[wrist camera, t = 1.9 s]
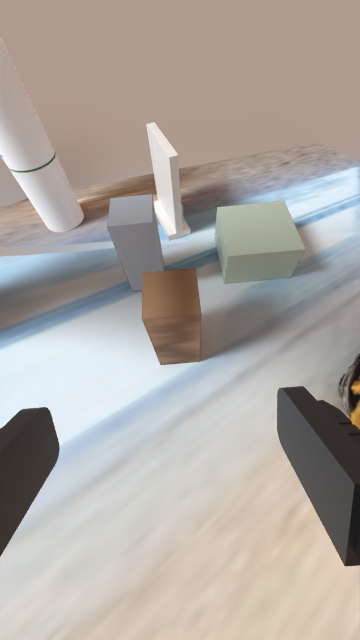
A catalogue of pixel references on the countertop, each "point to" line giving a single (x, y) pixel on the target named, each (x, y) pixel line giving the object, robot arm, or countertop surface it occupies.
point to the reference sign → (167, 185)
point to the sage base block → (257, 242)
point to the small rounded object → (351, 391)
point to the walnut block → (172, 315)
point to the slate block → (135, 236)
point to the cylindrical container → (33, 153)
